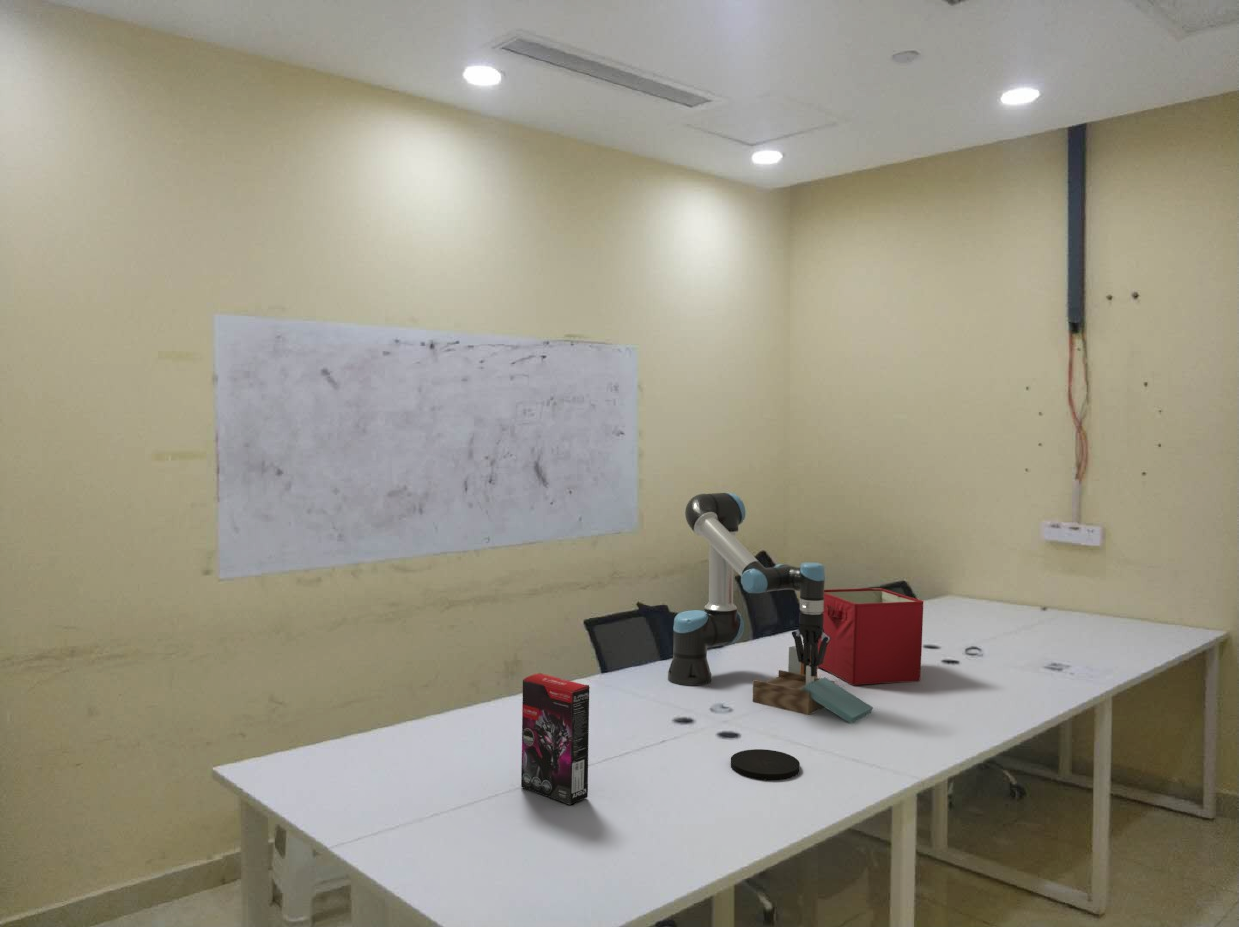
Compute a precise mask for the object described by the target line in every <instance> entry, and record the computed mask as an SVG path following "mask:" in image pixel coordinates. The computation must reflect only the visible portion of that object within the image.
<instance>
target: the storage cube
mask: <svg viewBox="0 0 1239 927" xmlns="http://www.w3.org/2000/svg"><path fill="white" fill-rule="evenodd" d="M822 613H823V614H824V622H823V629H824V633H825V634H826V635H827V636H830V637H831V639H830V641H829V642H828V645H827V648H826V652H825V656H824V660H823V664H821V665H819V666H817V668H820V669H822V670H824V671H826V672H829V673H830V674H832V675H834V676H836V677H838V678H840V679H841V680H843V681H845V682H847V683H848V684H850V685H851V686H858V685H874V684H891V683H892V684H893V683H909V682H910V683H911V682H919V681H920V680H921V669H922V648H923V624H924V623H923V622H924V620H923V619H924V601H923V600H921V599H918V598H914V597H910V596H907V595H903V594H901V593H899V592H898V593H897V592H894V591H890V590H889V589H885V588H881V587H877V588H876V587H875V588H872V587H871V588H870V587H869V588H868V587H867V588H842V589H841V588H837V589H836V588H835V589H834V588H832V589H824V611H823V612H822ZM821 639H822V637H821V638H820V639H819V644H818V652H819V648H820V644H821V642H822V640H821Z"/></svg>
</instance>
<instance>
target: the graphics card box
mask: <svg viewBox="0 0 1239 927" xmlns="http://www.w3.org/2000/svg"><path fill="white" fill-rule="evenodd" d="M590 688H591V687H590V685H589V684H584V683H583V684H582V683H578V682H574V681H572V680H571V681H570V680H567V679H564V678H560V677H556V676H552V675H548V674H544V673H535V674H532V675H528V676H526V677H525V678H524V679H522V706H521V707H522V708H521V709H522V711H521V713H522V715H521V716H522V718H521V720H522V722H521V724H522V725H521V727H522V728H521V777H520V778H521V779H520V781H521V782H520V783H521V784H520V787H521V788H523V789H526V790H529V791H531V792H534V793H538V794H541V795H542V796H545V797H549V798H551V799H554V800H556V801H560V802H562V803H564V804H568V805H573V804H575V803H578V802H580V801H582V800H584V799H587V798H588V797H589V794H588V793H589V737H590V734H589V730H590V729H589V726H590V725H589V724H590V723H589V722H590Z"/></svg>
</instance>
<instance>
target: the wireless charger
mask: <svg viewBox="0 0 1239 927" xmlns="http://www.w3.org/2000/svg"><path fill="white" fill-rule="evenodd" d="M800 767H801V763H800V760H798V759H797V758H796V757H795V756H793V755H791V754H788V753H786V752H784V751H783V752H782V751H779V750H774V749H773V750H772V749H762V748H761V749H760V748H759V749H758V748H756V749H755V748H754V749H745V750H741V751H737V752H735V753H734V754H732V755H731V757H730V768H731V770H732V771H733V772H734V773H736V774H738V775H740V776H741V777H744V778H748V779H752V780H758V781H765V782H767V781H769V782H771V781H773V782H774V781H786V780H789V779H790V780H791V779H792V778H795V777H796V776H798V775H799V774H800V771H801V769H800Z"/></svg>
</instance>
